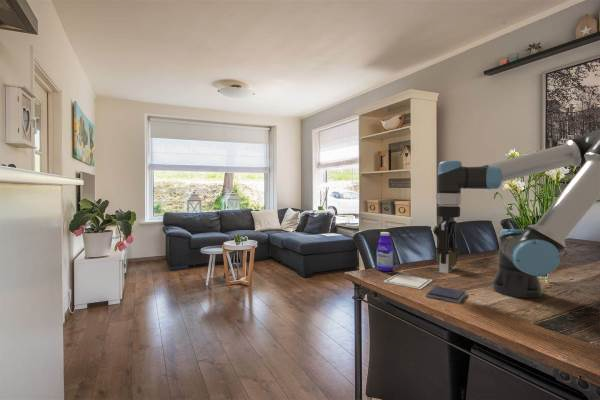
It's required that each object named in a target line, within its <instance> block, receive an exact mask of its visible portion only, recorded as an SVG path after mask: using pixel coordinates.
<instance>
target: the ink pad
mask: <svg viewBox="0 0 600 400" xmlns="http://www.w3.org/2000/svg"><path fill="white" fill-rule="evenodd" d="M466 296H468V291H464V290H461V289H455V288H450V287H443V286H439V285H436V286H433V288H431V289H430V290H429V291H427V292H426V293H425V297H426V298H430V299H434V300H440V301H445V302H451V303H453V304H454V303H456V304H459V305H460V304H461V302H463V300H464V299H465V298H466Z"/></svg>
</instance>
